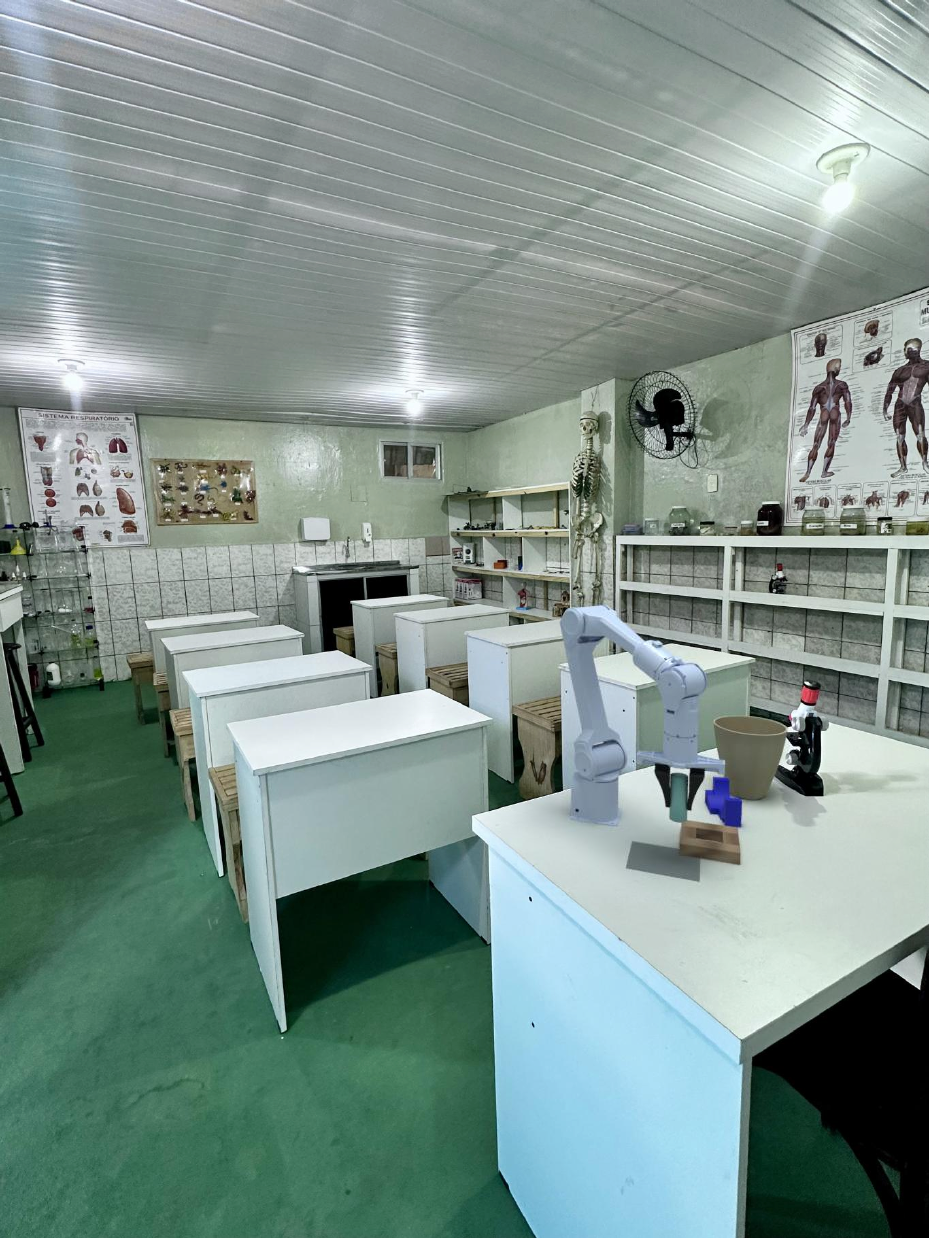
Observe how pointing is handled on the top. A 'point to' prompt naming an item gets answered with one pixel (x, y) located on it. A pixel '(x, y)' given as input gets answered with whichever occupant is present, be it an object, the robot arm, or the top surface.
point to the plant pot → (749, 752)
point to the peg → (678, 797)
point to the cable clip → (724, 803)
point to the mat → (663, 861)
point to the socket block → (710, 841)
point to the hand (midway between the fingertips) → (678, 806)
